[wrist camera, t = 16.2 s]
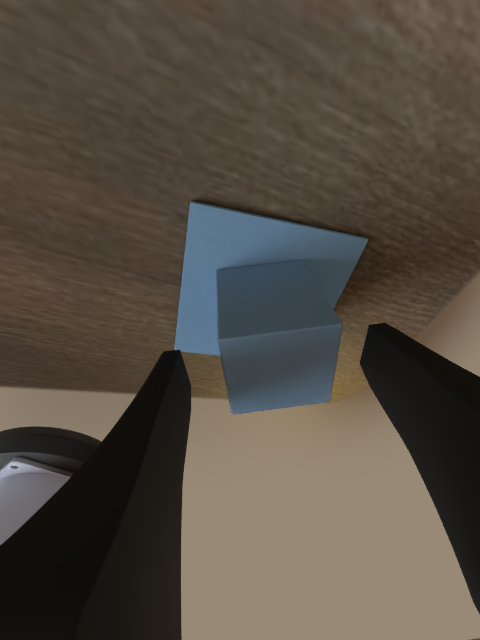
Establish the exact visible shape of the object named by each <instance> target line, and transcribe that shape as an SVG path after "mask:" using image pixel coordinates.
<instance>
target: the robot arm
mask: <svg viewBox="0 0 480 640" xmlns="http://www.w3.org/2000/svg"><path fill="white" fill-rule="evenodd" d="M360 365H361V367H362V370H363V372H364V374H365V377H366V379H367V381H368V383H369V385H370V387H371V389H372V390H373V392H374V394H375V396H376V397H377V399H378V401H379V402H380V404H381V406H382V407H383V409H384V410H385V412H386V414H387V415H388V417H389V419H390V420H391V422H392V424H393V425H394V427H395V428H396V430H397V432H398V433H399V435H400V437H401V438H402V440H403V441H404V443H405V445H406V447H407V449H408V450H409V452H410V454H411V456H412V458H413V460H414V462H415V464H416V466H417V469H418V471H419V472H420V474H421V477H422V479H423V481H424V483H425V485H426V487H427V490H428V492H429V494H430V496H431V498H432V500H433V503H434V505H435V507H436V509H437V512H438V514H439V516H440V518H441V521H442V523H443V526H444V528H445V530H446V533H447V535H448V537H449V540H450V542H451V544H452V547H453V549H454V552H455V555H456V557H457V560H458V562H459V565H460V568H461V570H462V573H463V575H464V578H465V580H466V583H467V586H468V588H469V591H470V594H471V597H472V599H473V602H474V604H475V606H476V608H477V610H478V612H479V614H480V377H479V376H477V375H475V374H473V373H471V372H469V371H468V370H466V369H464V368H462V367H460V366H458V365H456V364H455V363H453V362H451V361H449V360H448V359H445V358H444V357H442V356H441V355H439V354H437V353H435V352H434V351H432V350H430V349H429V348H427V347H425V346H424V345H422V344H420V343H419V342H417V341H415V340H414V339H412V338H410V337H409V336H407V335H405V334H404V333H402V332H400V331H399V330H397V329H395V328H393V327H392V326H390V325H388V324H386V323H380V324H373V325H369V327H368V331H367V336H366V340H365V344H364V348H363V352H362V356H361V360H360ZM190 414H191V384H190V381H189V377H188V374H187V371H186V368H185V364H184V361H183V358H182V355H181V352H180V350H172V351H165V352H163V353H162V354H161V356H160V358H159V359H158V361H157V363H156V364H155V366H154V368H153V370H152V371H151V373H150V374H149V376H148V378H147V379H146V381H145V383H144V384H143V386H142V387H141V389H140V390H139V392H138V393H137V395H136V396H135V398H134V400H133V401H132V402H131V404H130V405H129V407H128V408H127V409H126V411H125V412H124V413H123V415H122V416H121V418H120V419H119V420H118V422H117V423H116V424H115V426H114V427H113V428H112V430H111V431H110V432H109V434H108V435H107V436H106V437H105V439H104V440H103V441H102V442H101V443H100V445H99V446H98V447H97V448H96V449H95V451H94V452H93V453H92V454H91V455H90V456H89V457H88V459H87V460H86V461H85V462H84V463H83V464H82V465H81V466H80V467H79V469H78V470H77V471H76V472H75V473H72V472H69V471H66V470H62V469H59V468H56V467H52V466H49V465H46V464H42V463H39V462H36V461H33V460H29V459H26V458H23V457H15V458H13V459H12V460H11V461H10V462H9V463H7V464H6V465H5V466H4V467H3V468H2V469H0V640H181V639H182V638H181V517H182V516H181V515H182V513H181V511H182V483H183V472H184V463H185V455H186V446H187V438H188V431H189V422H190ZM472 640H480V638H479V639H472Z"/></svg>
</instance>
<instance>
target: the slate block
mask: <svg viewBox="0 0 480 640" xmlns="http://www.w3.org/2000/svg"><path fill="white" fill-rule="evenodd" d="M216 304H217V340H218V346H219V351H220V356H221V362H222V367H223V372H224V377H225V382H226V388H227V393H228V398H229V403H230V408H231V413H232V414H241V413H249V412H257V411H264V410H272V409H279V408H287V407H294V406H302V405H310V404H317V403H325V402H329V401H330V398H331V392H332V386H333V380H334V374H335V368H336V363H337V357H338V351H339V345H340V339H341V334H342V328H343V324H342V322H341V321H340V319H339V318H338V316H337V314H336V313H335V311H334V310H333V308H332V307H331V305H330V304H329V302H328V301H327V299H326V298H325V296H324V294H323V293H322V291H321V290H320V288H319V287H318V285H317V284H316V282H315V281H314V279H313V278H312V276H311V274H310V273H309V271H308V270H307V268H306V267H305V265H304V264H303V262H302V261H301V260H295V261H287V262H279V263H271V264H263V265H255V266H247V267H239V268H231V269H223V270H217V271H216Z"/></svg>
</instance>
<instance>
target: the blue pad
mask: <svg viewBox="0 0 480 640" xmlns="http://www.w3.org/2000/svg"><path fill="white" fill-rule="evenodd" d="M367 242H368V239H367V238H366V237H361V236H356V235H351V234H347V233H342V232H337V231H332V230H328V229H323V228H318V227H314V226H309V225H304V224H299V223H295V222H290V221H285V220H281V219H276V218H271V217H266V216H262V215H257V214H252V213H247V212H243V211H238V210H233V209H229V208H224V207H219V206H214V205H210V204H205V203H200V202H196V201H191V202H190V209H189V219H188V228H187V237H186V246H185V256H184V265H183V274H182V283H181V293H180V302H179V311H178V320H177V330H176V339H175V348H174V350H180V351H182V352H191V353H201V354H211V355H220V351H219V346H218V340H217V304H216V271H217V270H223V269H231V268H239V267H247V266H255V265H263V264H271V263H279V262H287V261H295V260H301V261H302V262H303V264H304V265H305V267H306V268H307V270H308V271H309V273H310V274H311V276H312V278H313V279H314V281H315V282H316V284H317V285H318V287H319V288H320V290H321V291H322V293H323V294H324V296H325V298H326V299H327V301H328V302H329V304H330V305H331V307H332V308H333V309H334V307H335V305H336V303H337V301H338V299H339V297H340V296H341V294H342V292H343V290H344V288H345V286H346V284H347V282H348V280H349V278H350V276H351V274H352V272H353V270H354V268H355V266H356V264H357V262H358V260H359V258H360V256H361V254H362V252H363V250H364V248H365V246H366V244H367Z"/></svg>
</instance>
